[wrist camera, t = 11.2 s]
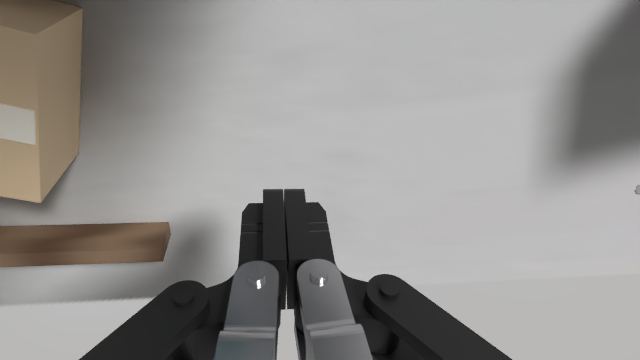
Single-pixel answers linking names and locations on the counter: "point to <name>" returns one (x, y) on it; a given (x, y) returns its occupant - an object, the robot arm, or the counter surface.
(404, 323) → the robot arm
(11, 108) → the kraft carton
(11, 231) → the brown wooden u-shaped piece
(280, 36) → the counter surface
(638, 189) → the key chain
